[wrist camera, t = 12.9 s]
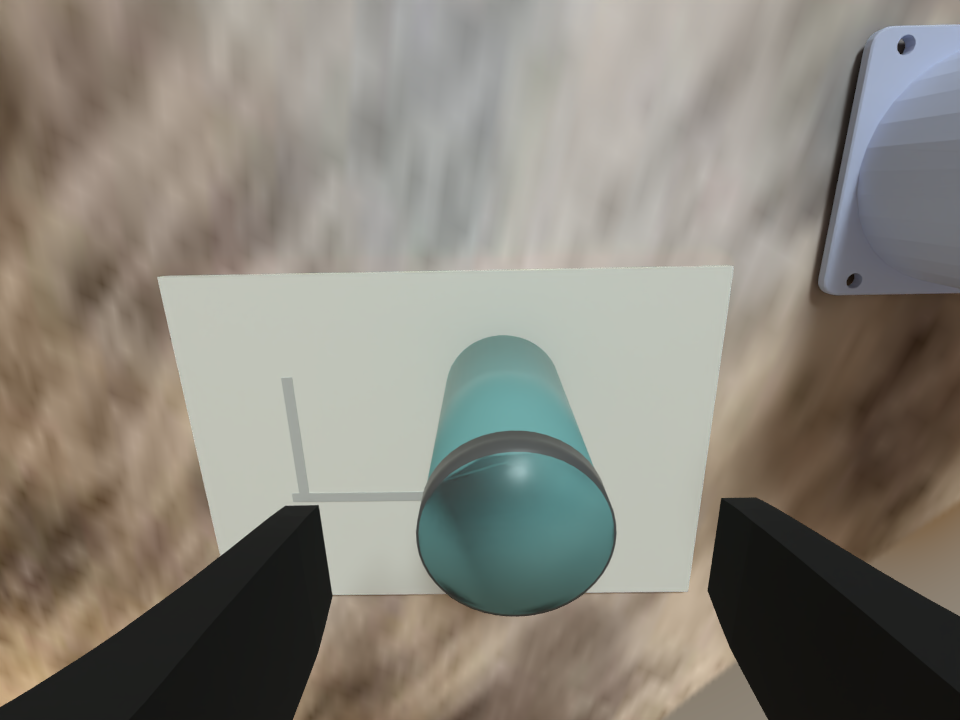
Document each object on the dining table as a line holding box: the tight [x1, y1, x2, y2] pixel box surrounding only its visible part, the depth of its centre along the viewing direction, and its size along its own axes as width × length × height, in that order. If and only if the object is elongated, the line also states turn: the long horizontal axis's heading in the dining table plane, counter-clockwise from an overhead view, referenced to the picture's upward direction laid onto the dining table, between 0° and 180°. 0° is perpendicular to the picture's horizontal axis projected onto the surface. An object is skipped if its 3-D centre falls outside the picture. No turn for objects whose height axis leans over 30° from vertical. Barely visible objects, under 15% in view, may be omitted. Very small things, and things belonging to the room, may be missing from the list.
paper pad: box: [157, 266, 734, 595], centre depth 20 cm, size 20×14×1 cm
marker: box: [416, 335, 617, 616], centre depth 15 cm, size 4×4×9 cm
